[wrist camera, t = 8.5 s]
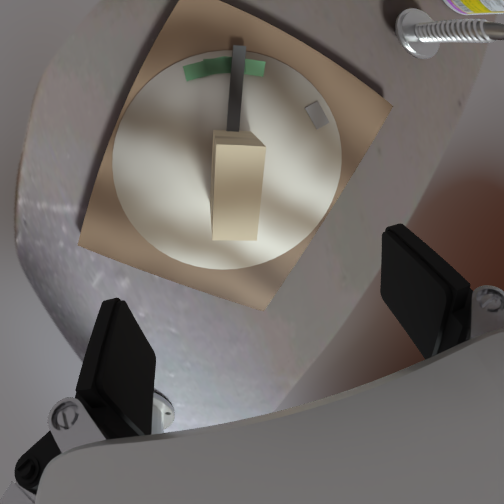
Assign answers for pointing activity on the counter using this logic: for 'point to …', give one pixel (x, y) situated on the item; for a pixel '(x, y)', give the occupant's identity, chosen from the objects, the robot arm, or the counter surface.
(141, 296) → the counter surface
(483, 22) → the screw
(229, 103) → the beige block with rod
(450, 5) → the supplement bottle
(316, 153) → the square board with disc
